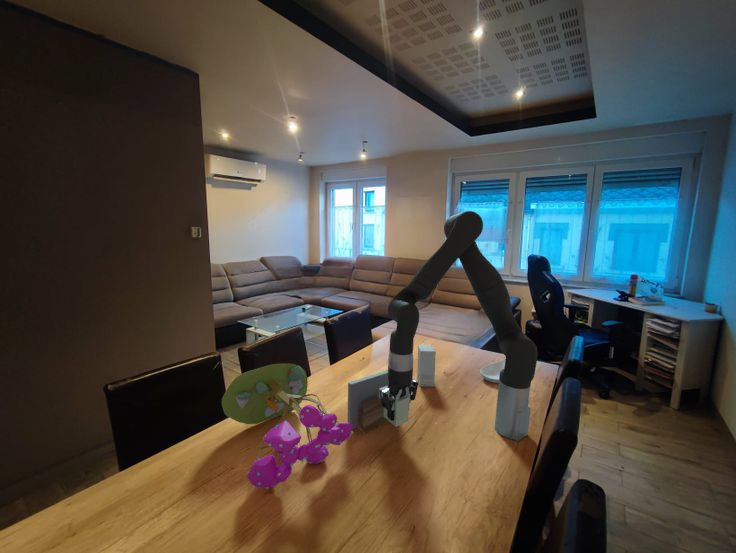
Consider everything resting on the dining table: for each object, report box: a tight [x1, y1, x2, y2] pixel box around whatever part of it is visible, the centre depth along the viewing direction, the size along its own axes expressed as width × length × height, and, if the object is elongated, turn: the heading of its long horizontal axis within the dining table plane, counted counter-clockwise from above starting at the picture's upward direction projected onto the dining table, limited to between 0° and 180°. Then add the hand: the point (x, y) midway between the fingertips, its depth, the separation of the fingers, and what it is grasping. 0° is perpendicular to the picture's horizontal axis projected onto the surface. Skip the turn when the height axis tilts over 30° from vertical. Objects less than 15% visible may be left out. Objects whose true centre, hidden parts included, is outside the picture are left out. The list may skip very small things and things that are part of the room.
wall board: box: [347, 369, 389, 430], centre depth 109 cm, size 2×20×16 cm, turn 125°
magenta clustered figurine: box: [221, 363, 354, 490], centre depth 92 cm, size 30×28×35 cm
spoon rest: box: [479, 358, 506, 384], centre depth 144 cm, size 24×12×7 cm, turn 125°
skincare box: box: [416, 344, 437, 388], centre depth 136 cm, size 8×7×16 cm
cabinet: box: [379, 386, 410, 427], centre depth 101 cm, size 9×5×8 cm, turn 35°
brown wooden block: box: [357, 398, 391, 434], centre depth 107 cm, size 4×14×10 cm, turn 125°
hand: (398, 416), depth 99 cm, fingers closed on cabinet, 5 cm apart
